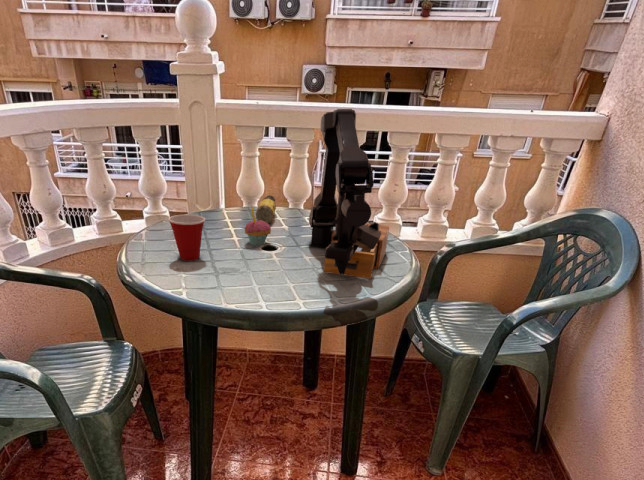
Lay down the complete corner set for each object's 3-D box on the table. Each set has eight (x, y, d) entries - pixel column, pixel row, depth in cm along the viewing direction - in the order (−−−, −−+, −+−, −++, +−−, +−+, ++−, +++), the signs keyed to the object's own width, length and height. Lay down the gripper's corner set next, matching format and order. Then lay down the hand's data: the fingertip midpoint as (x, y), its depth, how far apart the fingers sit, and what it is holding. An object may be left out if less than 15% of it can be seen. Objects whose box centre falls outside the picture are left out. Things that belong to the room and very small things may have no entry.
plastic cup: (214, 254, 151) (212, 214, 144) (196, 266, 143) (192, 225, 136) (184, 248, 155) (181, 210, 148) (165, 260, 147) (160, 219, 140)
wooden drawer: (368, 284, 131) (371, 260, 127) (319, 277, 135) (321, 253, 131) (378, 262, 144) (381, 239, 140) (333, 256, 147) (336, 234, 143)
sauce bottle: (275, 211, 171) (281, 195, 186) (258, 204, 170) (266, 188, 186) (268, 228, 175) (274, 210, 190) (252, 221, 174) (259, 203, 189)
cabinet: (378, 269, 142) (382, 240, 137) (329, 262, 146) (332, 234, 141) (385, 253, 152) (389, 225, 147) (339, 247, 156) (342, 220, 151)
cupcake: (251, 249, 155) (251, 210, 147) (240, 241, 161) (239, 203, 153) (275, 245, 158) (276, 206, 151) (263, 237, 164) (263, 199, 157)
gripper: (374, 229, 110) (365, 292, 120) (387, 206, 124) (378, 265, 134) (327, 223, 113) (321, 286, 123) (344, 202, 127) (338, 259, 137)
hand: (342, 274), depth 129 cm, fingers closed
